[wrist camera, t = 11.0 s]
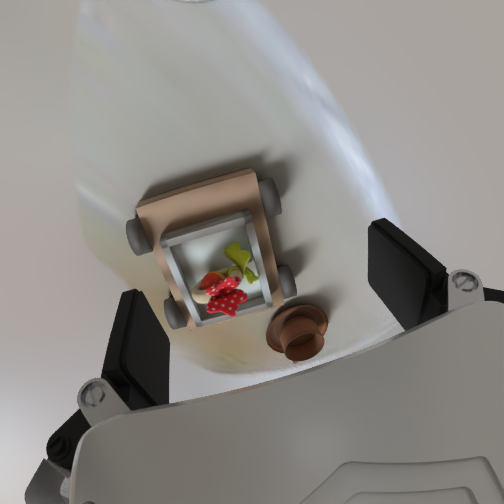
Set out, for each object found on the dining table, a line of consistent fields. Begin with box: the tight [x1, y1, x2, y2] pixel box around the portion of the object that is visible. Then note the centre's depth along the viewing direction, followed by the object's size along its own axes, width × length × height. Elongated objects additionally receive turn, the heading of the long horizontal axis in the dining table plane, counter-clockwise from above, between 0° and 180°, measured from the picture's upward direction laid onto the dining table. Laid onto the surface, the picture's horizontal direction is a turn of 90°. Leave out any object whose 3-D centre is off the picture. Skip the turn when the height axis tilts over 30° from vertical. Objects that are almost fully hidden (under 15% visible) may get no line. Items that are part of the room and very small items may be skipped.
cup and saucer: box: [266, 305, 328, 364], centre depth 51 cm, size 12×12×6 cm
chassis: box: [126, 168, 297, 331], centre depth 41 cm, size 22×20×6 cm
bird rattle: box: [192, 242, 259, 317], centre depth 37 cm, size 6×11×9 cm
